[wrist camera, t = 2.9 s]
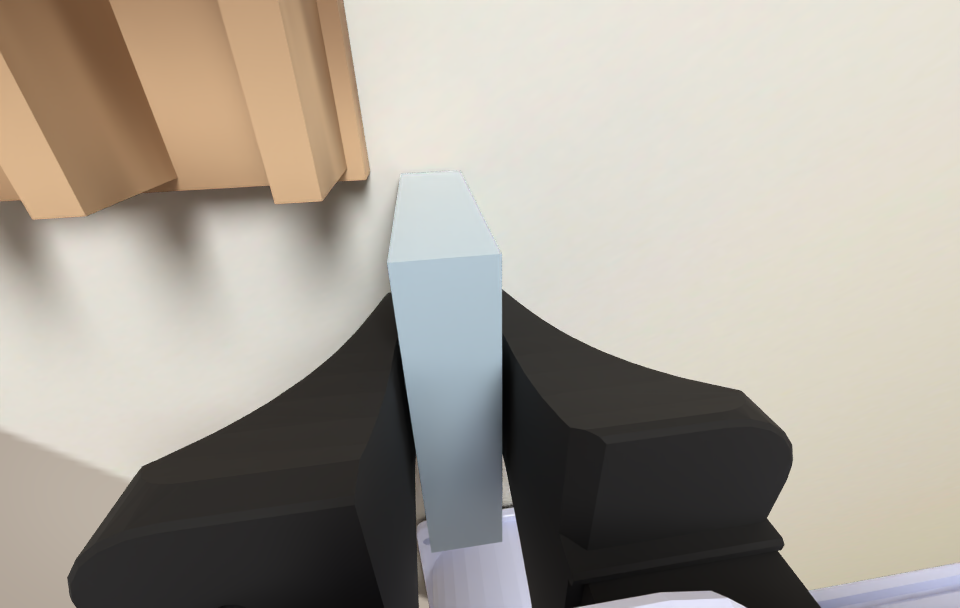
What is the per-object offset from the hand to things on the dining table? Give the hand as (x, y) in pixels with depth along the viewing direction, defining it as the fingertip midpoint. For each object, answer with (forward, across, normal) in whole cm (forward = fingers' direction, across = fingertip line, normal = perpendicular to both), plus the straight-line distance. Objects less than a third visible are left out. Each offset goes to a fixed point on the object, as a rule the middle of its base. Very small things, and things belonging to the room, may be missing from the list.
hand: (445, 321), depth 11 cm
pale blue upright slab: (+2, 0, 0) cm, 2 cm away
